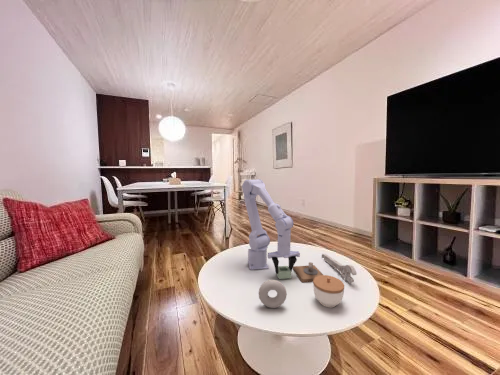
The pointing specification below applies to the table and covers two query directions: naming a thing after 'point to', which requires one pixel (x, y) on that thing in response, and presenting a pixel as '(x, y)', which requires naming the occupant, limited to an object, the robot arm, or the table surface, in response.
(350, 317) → the table surface
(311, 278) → the peg base
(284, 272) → the collar
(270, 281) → the donut
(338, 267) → the wrench
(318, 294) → the lidded jar
